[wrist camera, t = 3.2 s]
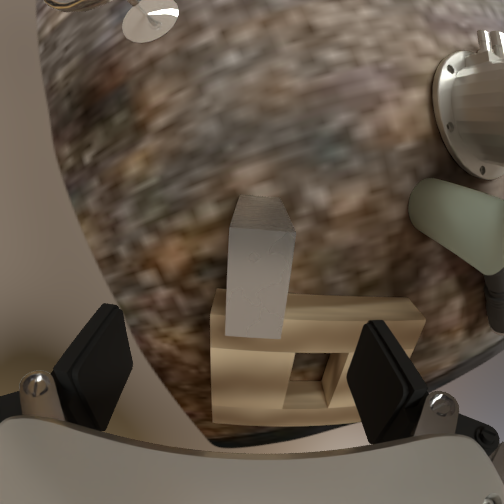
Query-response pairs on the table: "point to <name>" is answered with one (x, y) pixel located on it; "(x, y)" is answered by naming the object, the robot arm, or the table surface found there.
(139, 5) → the wineglass
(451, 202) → the round bit
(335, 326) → the socket block
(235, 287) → the block
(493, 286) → the flashlight
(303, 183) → the table surface
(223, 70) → the table surface
